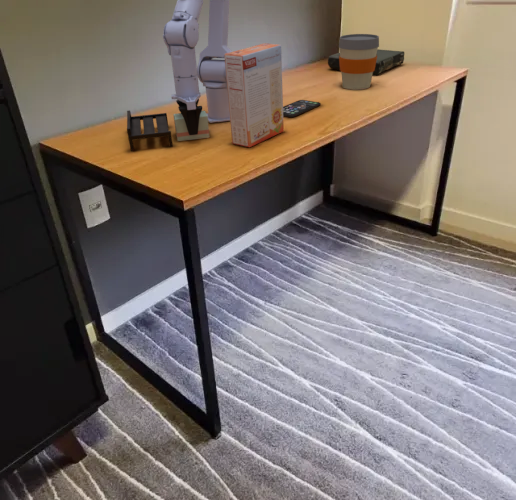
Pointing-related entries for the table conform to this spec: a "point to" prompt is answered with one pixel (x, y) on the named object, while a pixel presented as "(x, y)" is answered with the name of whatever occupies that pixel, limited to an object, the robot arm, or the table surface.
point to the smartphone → (299, 107)
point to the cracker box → (255, 93)
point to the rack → (147, 127)
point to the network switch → (383, 60)
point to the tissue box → (183, 132)
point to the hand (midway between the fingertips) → (192, 130)
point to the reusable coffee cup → (357, 59)
